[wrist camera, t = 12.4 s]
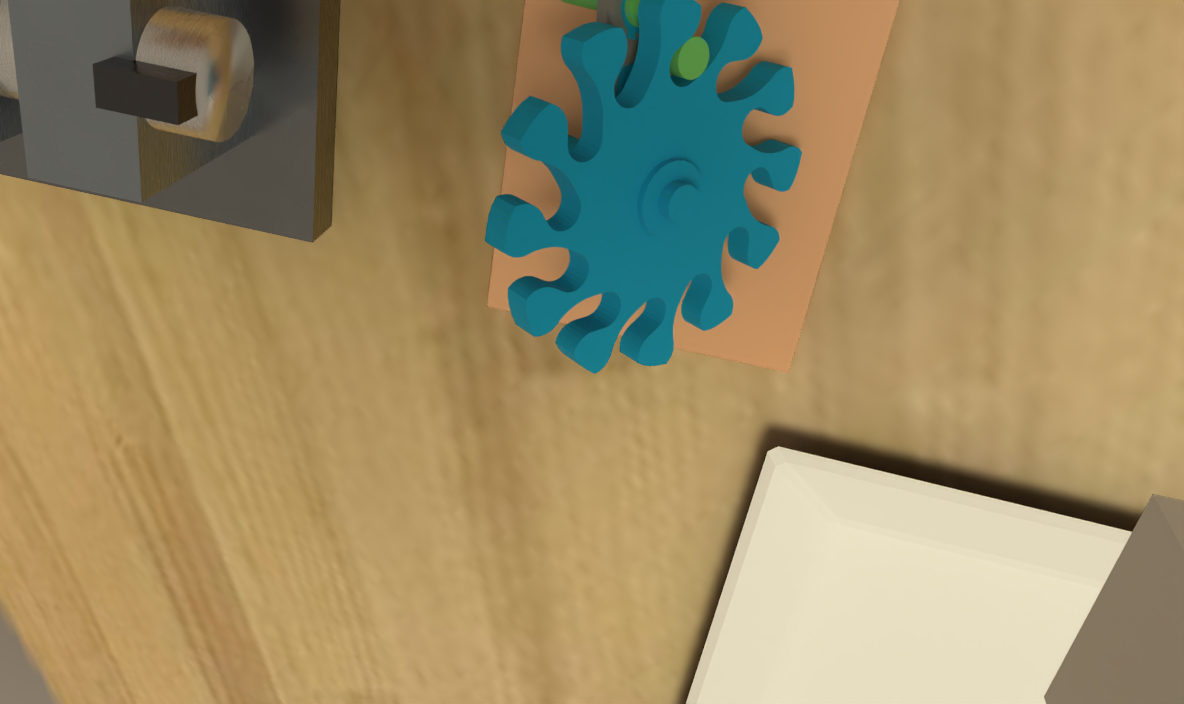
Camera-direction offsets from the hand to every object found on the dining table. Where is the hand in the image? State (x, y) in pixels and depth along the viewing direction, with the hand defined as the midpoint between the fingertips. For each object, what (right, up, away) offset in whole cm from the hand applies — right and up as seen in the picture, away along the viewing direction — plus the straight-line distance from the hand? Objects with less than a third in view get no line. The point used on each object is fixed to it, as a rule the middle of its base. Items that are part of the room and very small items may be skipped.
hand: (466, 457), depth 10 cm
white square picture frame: (+15, -11, +28) cm, 33 cm away
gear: (+6, +8, +20) cm, 22 cm away
